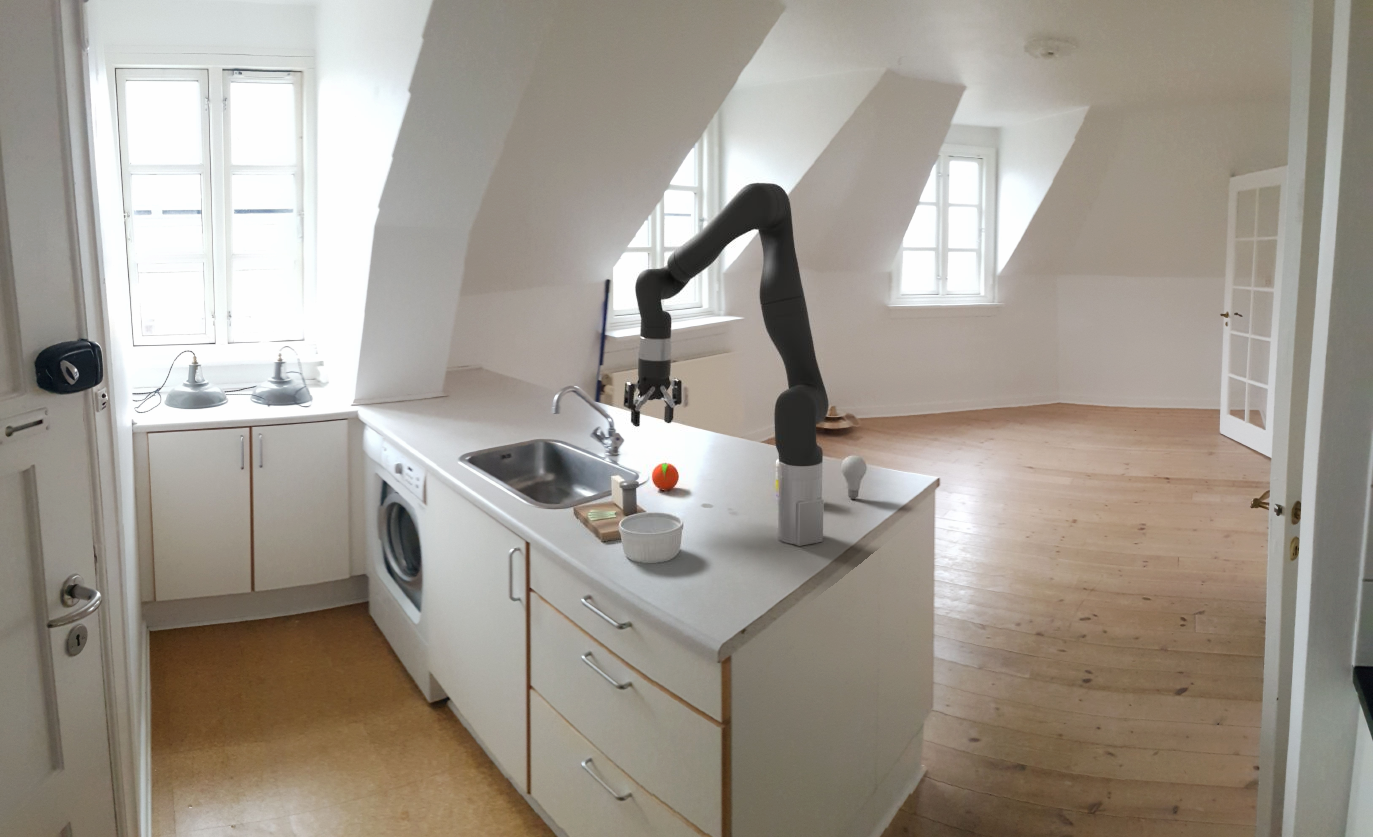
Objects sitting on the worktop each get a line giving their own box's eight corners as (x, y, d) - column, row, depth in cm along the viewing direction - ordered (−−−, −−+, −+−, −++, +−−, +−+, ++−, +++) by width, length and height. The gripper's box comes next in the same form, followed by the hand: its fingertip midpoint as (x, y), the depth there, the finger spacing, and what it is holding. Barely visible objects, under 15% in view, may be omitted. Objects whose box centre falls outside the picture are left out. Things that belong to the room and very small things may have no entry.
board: (661, 531, 191) (661, 522, 191) (601, 542, 186) (601, 532, 185) (629, 506, 209) (629, 497, 208) (573, 514, 203) (573, 506, 203)
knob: (642, 514, 196) (641, 484, 194) (624, 517, 194) (623, 486, 193) (624, 499, 206) (623, 471, 205) (606, 502, 205) (605, 473, 203)
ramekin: (632, 570, 170) (631, 537, 169) (610, 548, 182) (609, 517, 180) (693, 559, 175) (693, 527, 174) (669, 538, 187) (668, 508, 186)
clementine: (678, 494, 217) (678, 467, 216) (651, 495, 218) (650, 467, 216) (679, 485, 225) (679, 459, 224) (652, 485, 225) (652, 459, 224)
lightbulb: (855, 504, 208) (856, 460, 205) (835, 498, 212) (836, 455, 210) (870, 499, 212) (872, 455, 209) (850, 493, 216) (851, 451, 214)
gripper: (635, 361, 192) (632, 431, 196) (689, 357, 199) (686, 425, 204) (619, 355, 198) (617, 423, 202) (673, 351, 206) (670, 417, 210)
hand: (652, 424), depth 203 cm, fingers open, 8 cm apart
